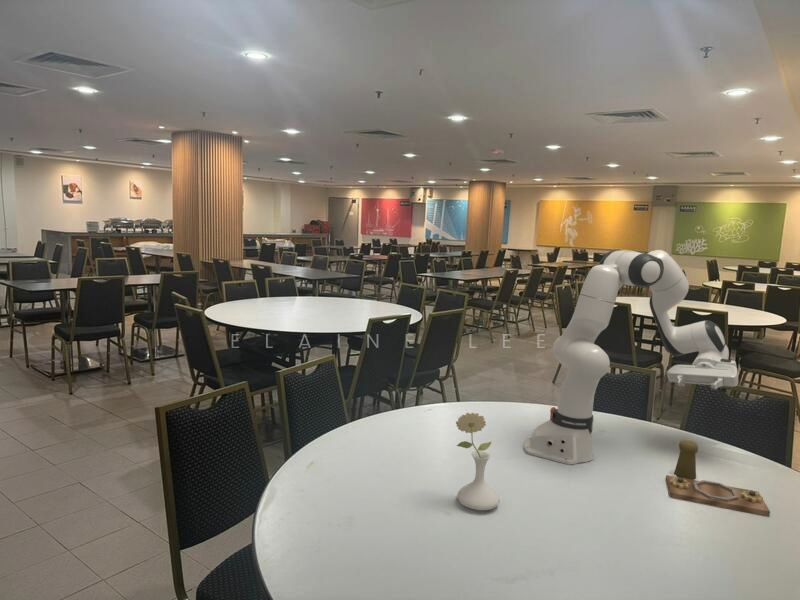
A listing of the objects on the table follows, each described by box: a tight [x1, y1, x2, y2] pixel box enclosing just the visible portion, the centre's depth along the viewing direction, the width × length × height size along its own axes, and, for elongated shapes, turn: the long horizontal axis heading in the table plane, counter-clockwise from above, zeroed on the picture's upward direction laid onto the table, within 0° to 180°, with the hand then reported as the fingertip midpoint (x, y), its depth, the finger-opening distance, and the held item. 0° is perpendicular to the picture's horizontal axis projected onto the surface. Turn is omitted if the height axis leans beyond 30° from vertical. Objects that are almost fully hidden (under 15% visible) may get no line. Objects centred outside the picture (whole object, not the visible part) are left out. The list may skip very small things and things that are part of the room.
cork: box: [673, 439, 699, 480], centre depth 166 cm, size 6×6×11 cm
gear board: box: [665, 474, 771, 518], centre depth 153 cm, size 24×12×4 cm, turn 69°
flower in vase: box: [455, 412, 501, 511], centre depth 143 cm, size 13×11×25 cm
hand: (696, 385), depth 171 cm, fingers open, 8 cm apart
